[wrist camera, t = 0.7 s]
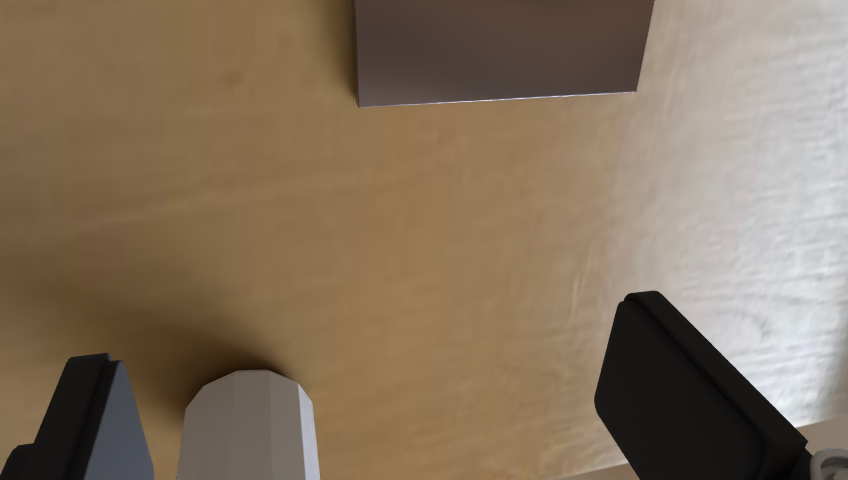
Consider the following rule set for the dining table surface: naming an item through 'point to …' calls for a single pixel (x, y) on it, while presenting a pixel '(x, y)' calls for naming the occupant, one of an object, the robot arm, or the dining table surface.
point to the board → (495, 49)
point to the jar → (249, 430)
